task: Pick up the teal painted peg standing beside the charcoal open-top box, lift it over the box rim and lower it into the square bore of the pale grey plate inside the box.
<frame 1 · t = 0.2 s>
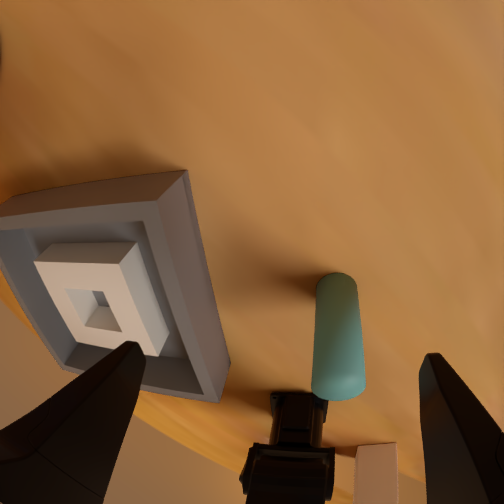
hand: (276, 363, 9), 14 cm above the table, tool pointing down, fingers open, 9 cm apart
box: (113, 282, 29), on the table
milk: (374, 450, 40), on the table
peg: (336, 289, 24), on the table
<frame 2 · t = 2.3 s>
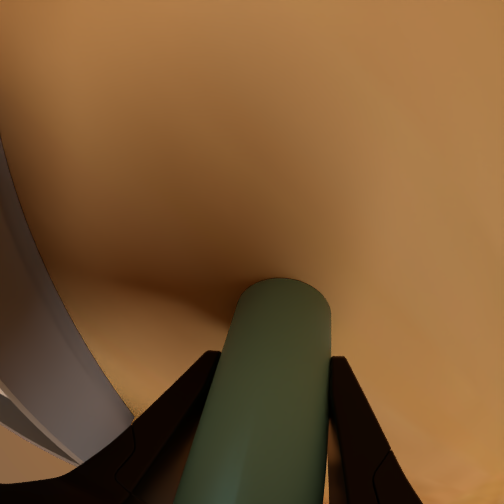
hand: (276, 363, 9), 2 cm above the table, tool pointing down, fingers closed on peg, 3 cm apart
peg: (283, 316, 11), on the table, touching gripper
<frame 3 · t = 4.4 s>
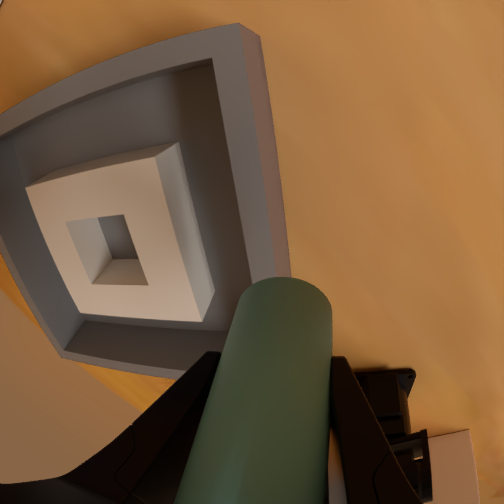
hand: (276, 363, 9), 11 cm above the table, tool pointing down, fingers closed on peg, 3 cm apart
box: (135, 222, 21), on the table
milk: (443, 441, 31), on the table
peg: (284, 315, 11), point 9 cm above the table, touching gripper
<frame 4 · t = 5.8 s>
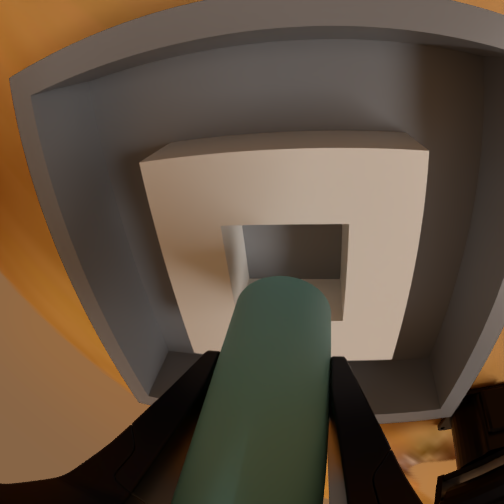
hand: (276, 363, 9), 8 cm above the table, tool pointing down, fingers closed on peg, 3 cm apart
box: (293, 228, 16), on the table
peg: (283, 314, 11), point 6 cm above the table, touching gripper
when the fingers open (5 cm above the table, at t = 6.7 s): peg drops 2 cm, resting on box.
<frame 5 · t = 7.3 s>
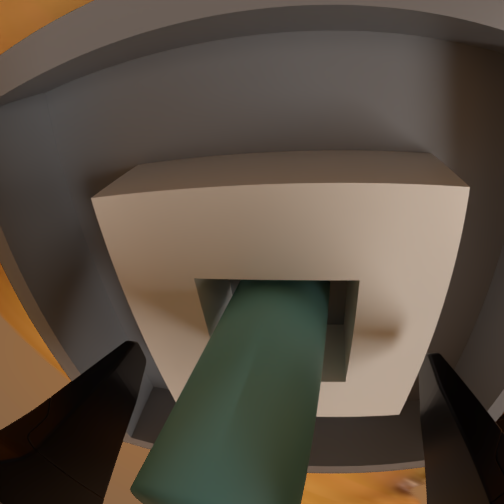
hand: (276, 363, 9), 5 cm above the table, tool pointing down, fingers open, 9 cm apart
box: (289, 266, 13), on the table
peg: (287, 281, 12), point 1 cm above the table, tilted 7°, touching box
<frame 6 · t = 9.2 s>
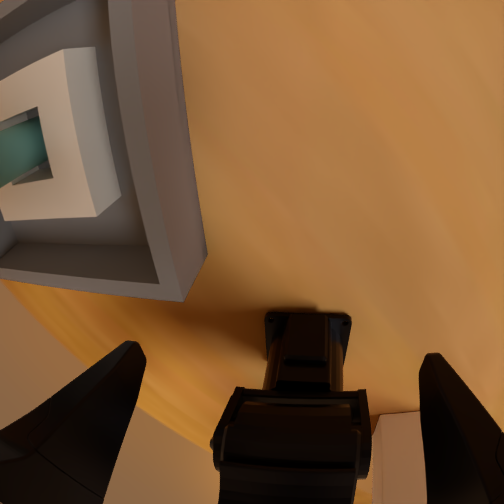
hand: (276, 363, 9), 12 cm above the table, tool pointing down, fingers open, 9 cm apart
box: (60, 131, 19), on the table
milk: (399, 422, 31), on the table
peg: (51, 133, 18), point 1 cm above the table, touching box
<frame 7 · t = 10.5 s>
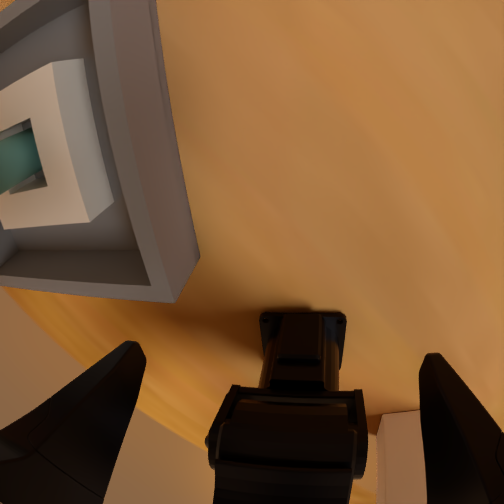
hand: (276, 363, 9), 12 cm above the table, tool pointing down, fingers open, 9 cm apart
box: (54, 141, 19), on the table
milk: (403, 421, 31), on the table
peg: (46, 143, 19), point 1 cm above the table, touching box
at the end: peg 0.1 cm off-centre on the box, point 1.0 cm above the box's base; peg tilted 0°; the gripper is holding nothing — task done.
